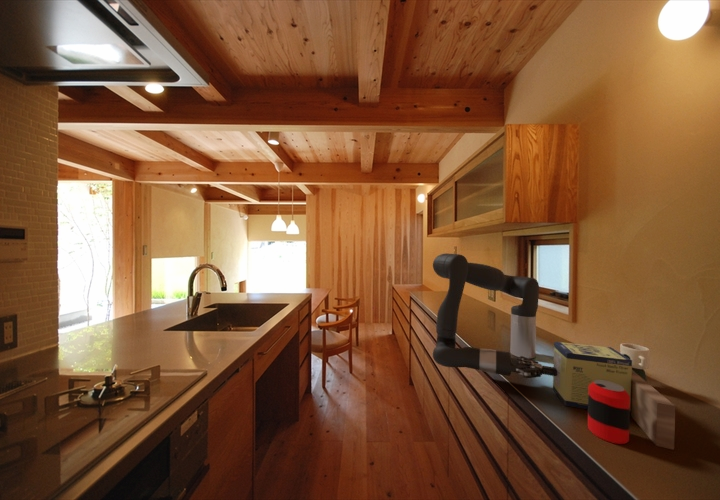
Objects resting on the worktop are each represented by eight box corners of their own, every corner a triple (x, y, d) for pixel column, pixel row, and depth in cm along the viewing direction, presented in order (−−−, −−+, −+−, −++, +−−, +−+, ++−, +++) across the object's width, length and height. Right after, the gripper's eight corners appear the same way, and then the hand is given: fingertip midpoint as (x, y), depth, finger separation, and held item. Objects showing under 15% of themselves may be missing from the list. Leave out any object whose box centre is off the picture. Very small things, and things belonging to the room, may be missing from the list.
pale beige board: (611, 393, 88) (611, 361, 88) (623, 395, 87) (624, 363, 87) (656, 445, 64) (657, 402, 64) (674, 449, 63) (675, 405, 63)
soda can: (579, 424, 72) (580, 378, 72) (607, 423, 72) (608, 377, 72) (607, 445, 64) (609, 393, 64) (638, 444, 65) (639, 393, 65)
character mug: (612, 376, 100) (613, 340, 100) (638, 380, 97) (638, 343, 97) (629, 391, 90) (630, 350, 89) (658, 395, 87) (659, 354, 87)
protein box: (632, 417, 75) (633, 359, 75) (564, 406, 80) (565, 352, 80) (610, 397, 85) (611, 346, 85) (551, 388, 90) (552, 340, 90)
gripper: (495, 357, 88) (561, 368, 81) (494, 344, 100) (552, 352, 93) (494, 381, 88) (561, 394, 81) (494, 365, 100) (551, 375, 93)
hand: (556, 372), depth 87 cm, fingers closed
